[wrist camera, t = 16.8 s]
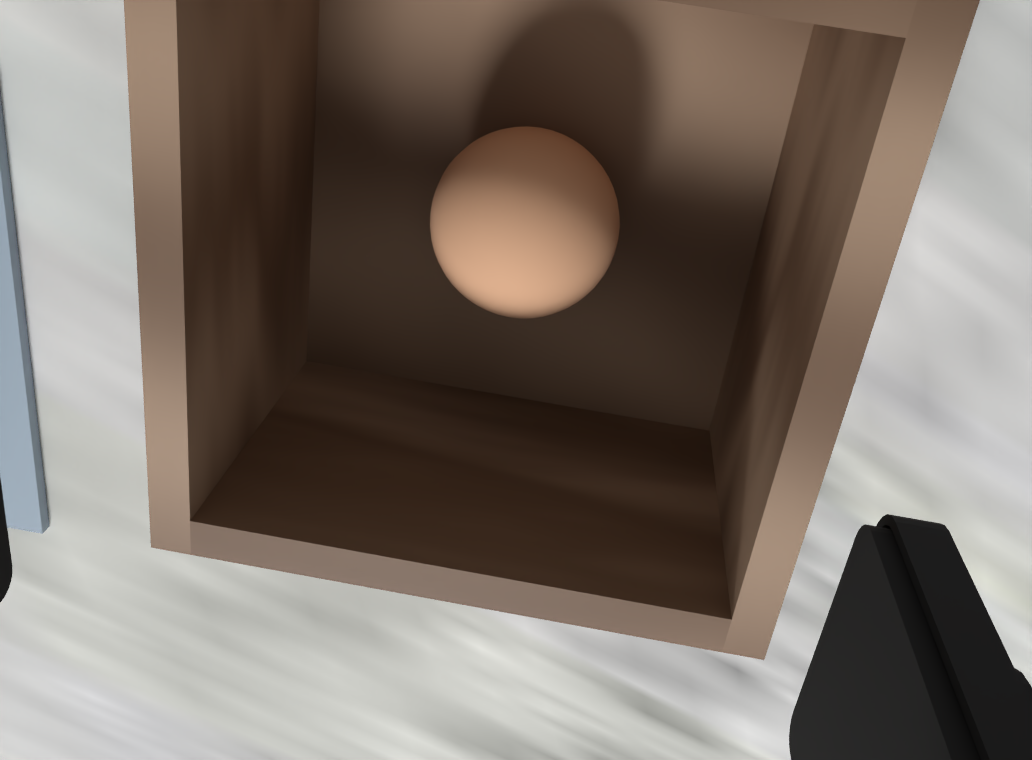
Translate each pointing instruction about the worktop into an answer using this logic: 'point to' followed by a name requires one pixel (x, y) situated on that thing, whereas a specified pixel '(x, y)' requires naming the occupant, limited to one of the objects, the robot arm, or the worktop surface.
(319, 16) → the box
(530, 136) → the ball
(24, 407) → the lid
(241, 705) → the worktop surface
